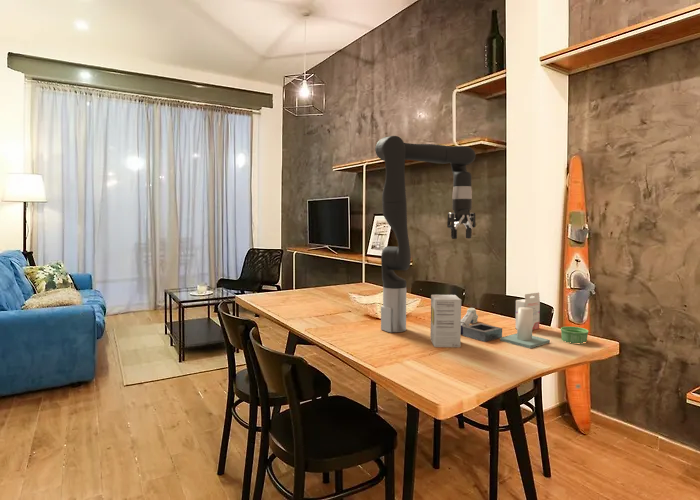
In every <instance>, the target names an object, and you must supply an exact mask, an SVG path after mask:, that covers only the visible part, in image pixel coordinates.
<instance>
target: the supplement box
mask: <svg viewBox="0 0 700 500" xmlns="http://www.w3.org/2000/svg"><path fill="white" fill-rule="evenodd" d="M461 319H462V299H461V298H459V297H458V296H457V295H456V294H431V295H430V342H431V343H432V346H433V347H434V348H461V342H462V341H461V338H462V337H461V335H462V334H461Z"/></svg>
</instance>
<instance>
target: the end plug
mask: <svg viewBox="0 0 700 500" xmlns="http://www.w3.org/2000/svg"><path fill="white" fill-rule="evenodd" d="M532 325H533V309H532V308H528V307H519V308H518V325H517V329H516V333H517V339H519V340H524V341H530V340H532V336H533V330H532Z"/></svg>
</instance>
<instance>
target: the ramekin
mask: <svg viewBox="0 0 700 500" xmlns="http://www.w3.org/2000/svg"><path fill="white" fill-rule="evenodd" d="M560 331H561V334H560V335H561V341H563V342H564V341H566V342H565V343H567V342H571V343H570V344H572V343H583V342H586V341H587V342H588V336H589V329H586V328H584V327H579V326H569V325H568V326H567V325H566V326H562V327H561V328H560ZM587 342H586V343H587Z"/></svg>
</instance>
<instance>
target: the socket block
mask: <svg viewBox="0 0 700 500" xmlns="http://www.w3.org/2000/svg"><path fill="white" fill-rule="evenodd" d="M462 336H463V337H466V338H469V339H471V340H472V339H473V340H476V341H480V342H484V343H487V342H491V341H494V340H497V339H500V338H501V337H503V327H499V326H495V325H491V324H488V323H487V324H486V323H483V322H482V323H481V322H480V323H479V322H477V323H472V324H469V326H464V327H463V334H462Z"/></svg>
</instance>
